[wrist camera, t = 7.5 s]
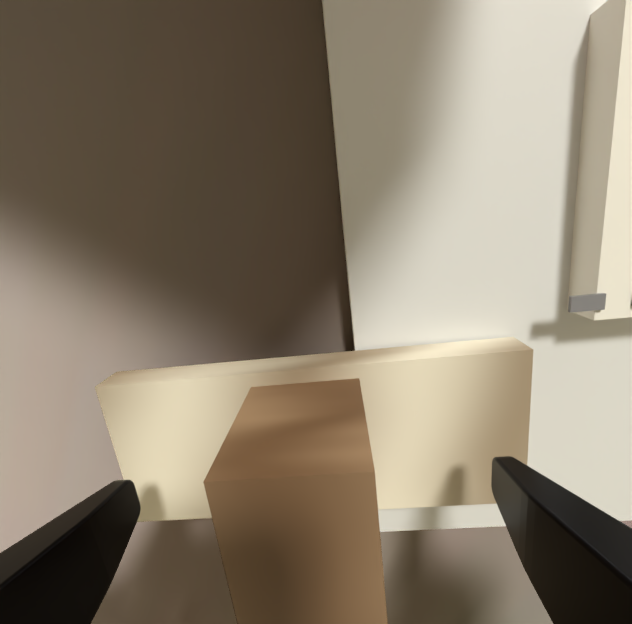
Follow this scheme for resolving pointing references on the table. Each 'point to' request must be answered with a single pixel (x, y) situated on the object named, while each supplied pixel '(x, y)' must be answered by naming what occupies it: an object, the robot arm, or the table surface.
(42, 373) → the table surface
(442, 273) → the ticket board
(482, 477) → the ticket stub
